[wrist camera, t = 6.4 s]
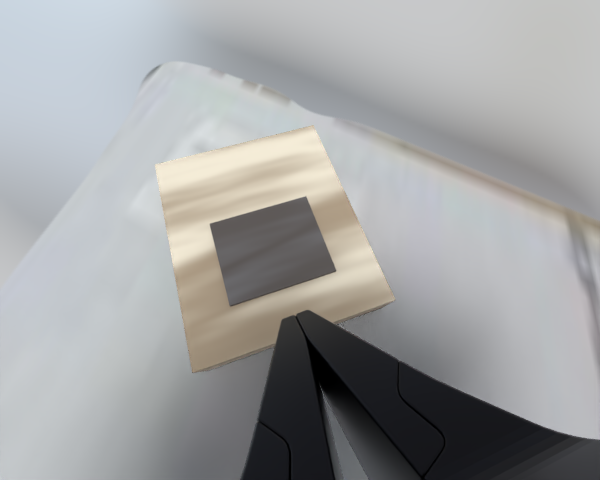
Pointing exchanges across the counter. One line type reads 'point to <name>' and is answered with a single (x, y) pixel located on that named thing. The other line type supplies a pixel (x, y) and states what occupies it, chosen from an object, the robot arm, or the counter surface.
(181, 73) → the counter surface
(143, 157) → the counter surface
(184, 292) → the birch slab
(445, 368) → the counter surface
